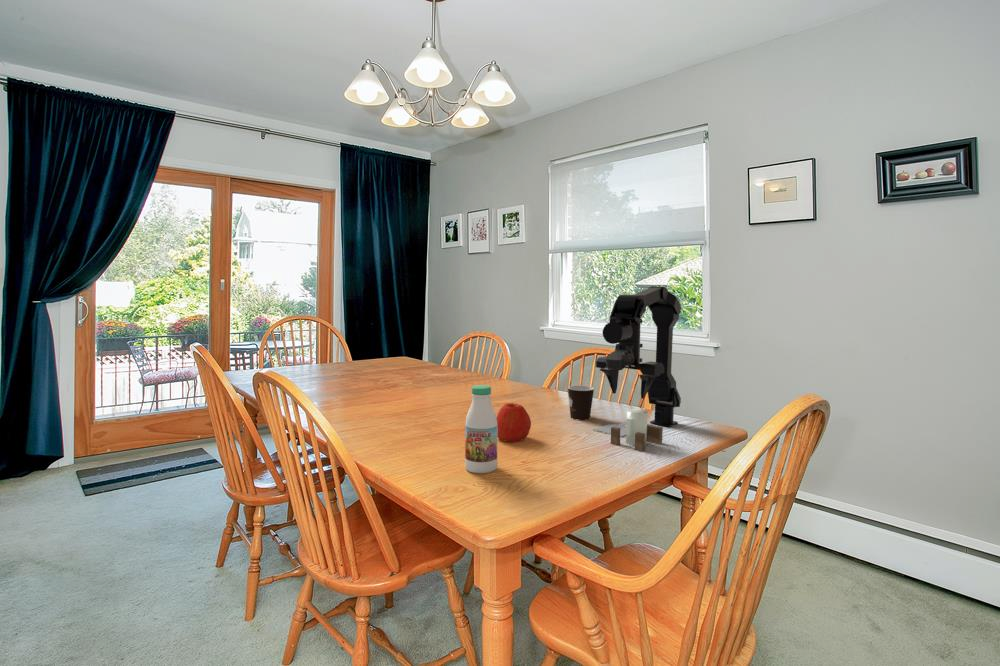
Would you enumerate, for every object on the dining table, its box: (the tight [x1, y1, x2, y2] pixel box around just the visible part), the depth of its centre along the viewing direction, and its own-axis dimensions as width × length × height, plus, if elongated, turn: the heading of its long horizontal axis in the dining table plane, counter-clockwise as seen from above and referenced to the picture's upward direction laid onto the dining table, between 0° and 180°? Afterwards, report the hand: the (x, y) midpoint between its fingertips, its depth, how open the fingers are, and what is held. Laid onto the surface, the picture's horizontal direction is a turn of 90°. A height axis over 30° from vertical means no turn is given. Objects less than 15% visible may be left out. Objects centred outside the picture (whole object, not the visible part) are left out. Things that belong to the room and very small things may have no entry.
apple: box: [496, 402, 532, 443], centre depth 150 cm, size 10×10×10 cm
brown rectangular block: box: [610, 423, 664, 452], centre depth 146 cm, size 11×10×4 cm
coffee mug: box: [567, 385, 595, 421], centre depth 176 cm, size 12×9×10 cm
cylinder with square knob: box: [625, 408, 648, 447], centre depth 145 cm, size 7×6×9 cm
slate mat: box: [592, 423, 626, 438], centre depth 159 cm, size 10×10×1 cm
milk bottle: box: [464, 384, 498, 474], centre depth 125 cm, size 8×8×20 cm
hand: (628, 395), depth 146 cm, fingers open, 9 cm apart
